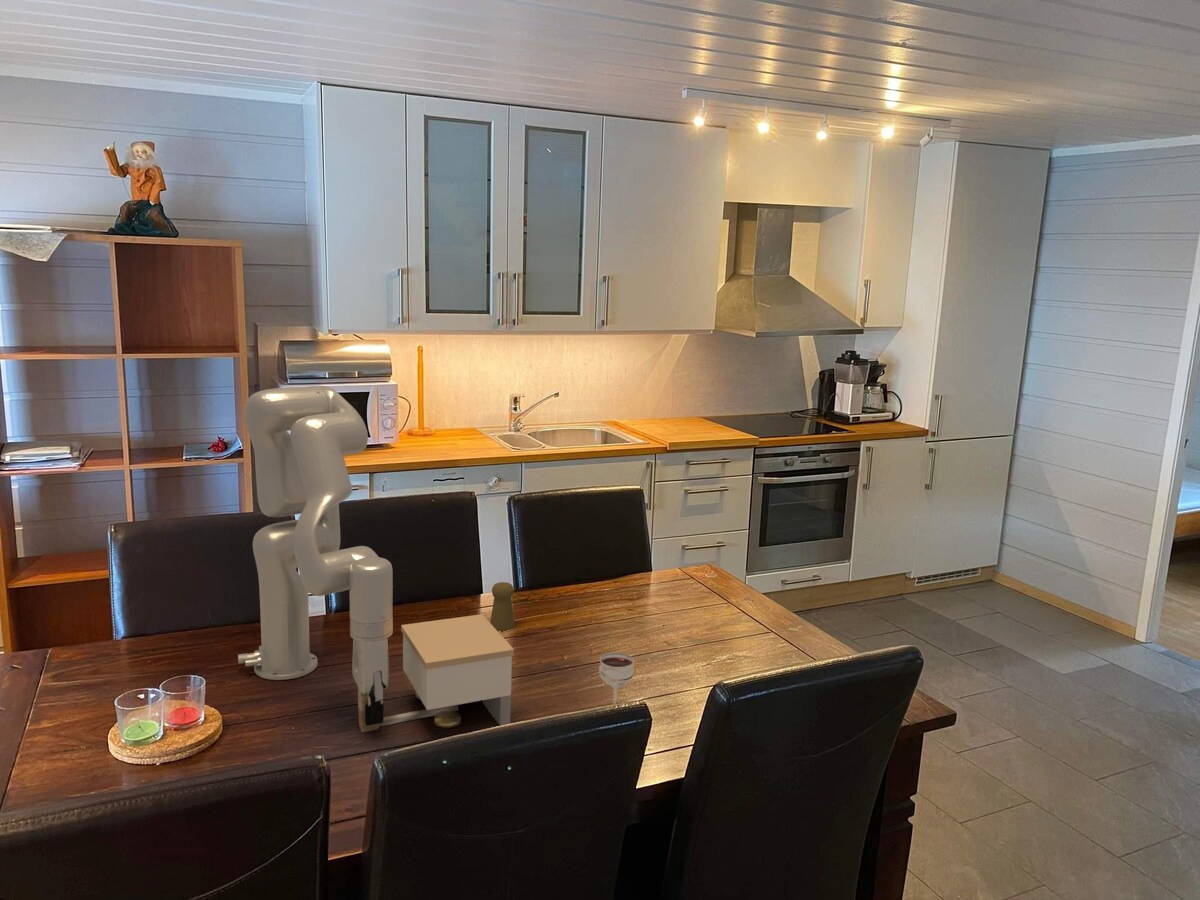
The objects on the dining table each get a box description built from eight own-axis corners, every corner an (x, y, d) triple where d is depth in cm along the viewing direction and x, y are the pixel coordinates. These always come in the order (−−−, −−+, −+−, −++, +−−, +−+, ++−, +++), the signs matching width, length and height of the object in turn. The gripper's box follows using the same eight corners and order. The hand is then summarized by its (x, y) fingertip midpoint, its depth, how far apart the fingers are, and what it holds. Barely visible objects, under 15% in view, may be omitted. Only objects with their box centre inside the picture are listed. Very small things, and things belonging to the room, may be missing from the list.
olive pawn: (515, 622, 214) (516, 579, 212) (513, 632, 208) (514, 588, 206) (490, 622, 214) (491, 579, 212) (488, 631, 208) (489, 587, 206)
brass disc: (437, 729, 163) (437, 726, 162) (431, 717, 167) (431, 713, 167) (464, 725, 165) (464, 721, 164) (456, 713, 169) (456, 709, 169)
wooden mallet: (362, 732, 160) (361, 692, 159) (358, 724, 163) (357, 685, 161) (459, 712, 169) (459, 674, 167) (454, 705, 171) (454, 667, 170)
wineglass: (589, 716, 170) (591, 658, 167) (613, 706, 174) (616, 649, 172) (614, 730, 165) (617, 670, 163) (638, 719, 170) (641, 661, 167)
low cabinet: (425, 741, 158) (426, 663, 155) (401, 696, 174) (401, 625, 172) (512, 724, 165) (514, 649, 162) (481, 683, 182) (482, 614, 179)
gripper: (342, 612, 164) (343, 703, 168) (359, 646, 150) (360, 744, 153) (382, 607, 168) (382, 696, 171) (403, 639, 153) (403, 736, 157)
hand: (372, 718), depth 162 cm, fingers closed on wooden mallet, 2 cm apart
